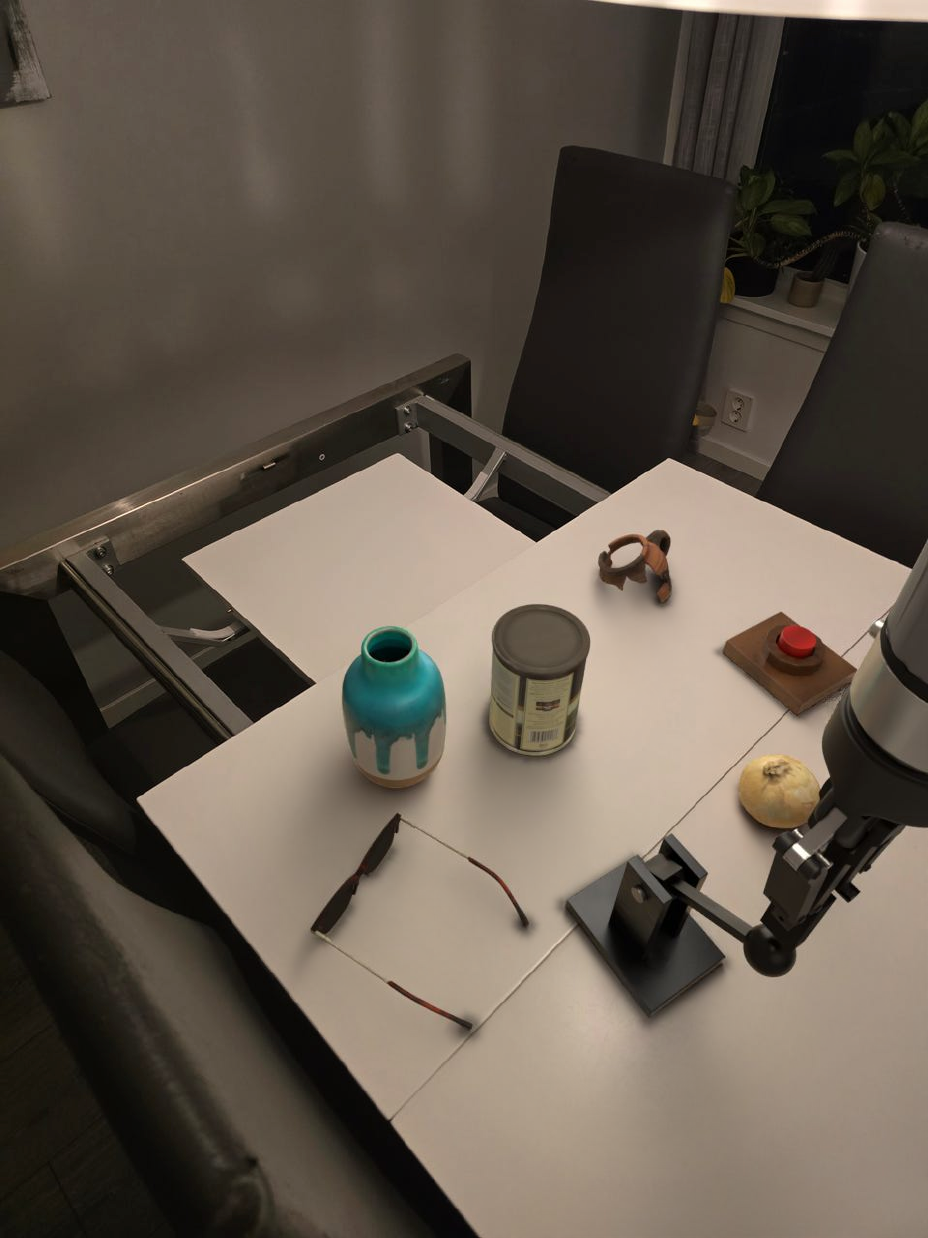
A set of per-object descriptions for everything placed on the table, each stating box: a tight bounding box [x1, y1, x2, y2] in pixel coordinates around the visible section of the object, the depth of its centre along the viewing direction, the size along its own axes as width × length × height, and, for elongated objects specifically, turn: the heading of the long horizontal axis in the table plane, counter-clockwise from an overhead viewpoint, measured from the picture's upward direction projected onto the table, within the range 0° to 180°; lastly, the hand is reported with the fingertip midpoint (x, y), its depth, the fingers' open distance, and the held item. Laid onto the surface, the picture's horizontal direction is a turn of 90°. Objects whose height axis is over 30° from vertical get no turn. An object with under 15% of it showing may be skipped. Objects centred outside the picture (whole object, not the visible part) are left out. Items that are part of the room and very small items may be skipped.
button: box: [778, 625, 816, 659], centre depth 95 cm, size 4×4×2 cm
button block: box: [722, 611, 859, 716], centre depth 97 cm, size 12×10×4 cm
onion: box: [738, 754, 821, 830], centre depth 81 cm, size 8×8×7 cm
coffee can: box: [488, 603, 591, 757], centre depth 87 cm, size 10×10×14 cm
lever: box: [643, 853, 797, 978], centre depth 61 cm, size 14×4×4 cm, turn 32°
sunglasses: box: [309, 812, 530, 1030], centre depth 72 cm, size 14×16×5 cm
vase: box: [341, 625, 448, 789], centre depth 80 cm, size 11×11×19 cm
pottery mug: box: [597, 529, 673, 604], centre depth 108 cm, size 12×10×8 cm
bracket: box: [565, 833, 726, 1018], centre depth 69 cm, size 12×9×13 cm
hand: (781, 930), depth 54 cm, fingers closed
